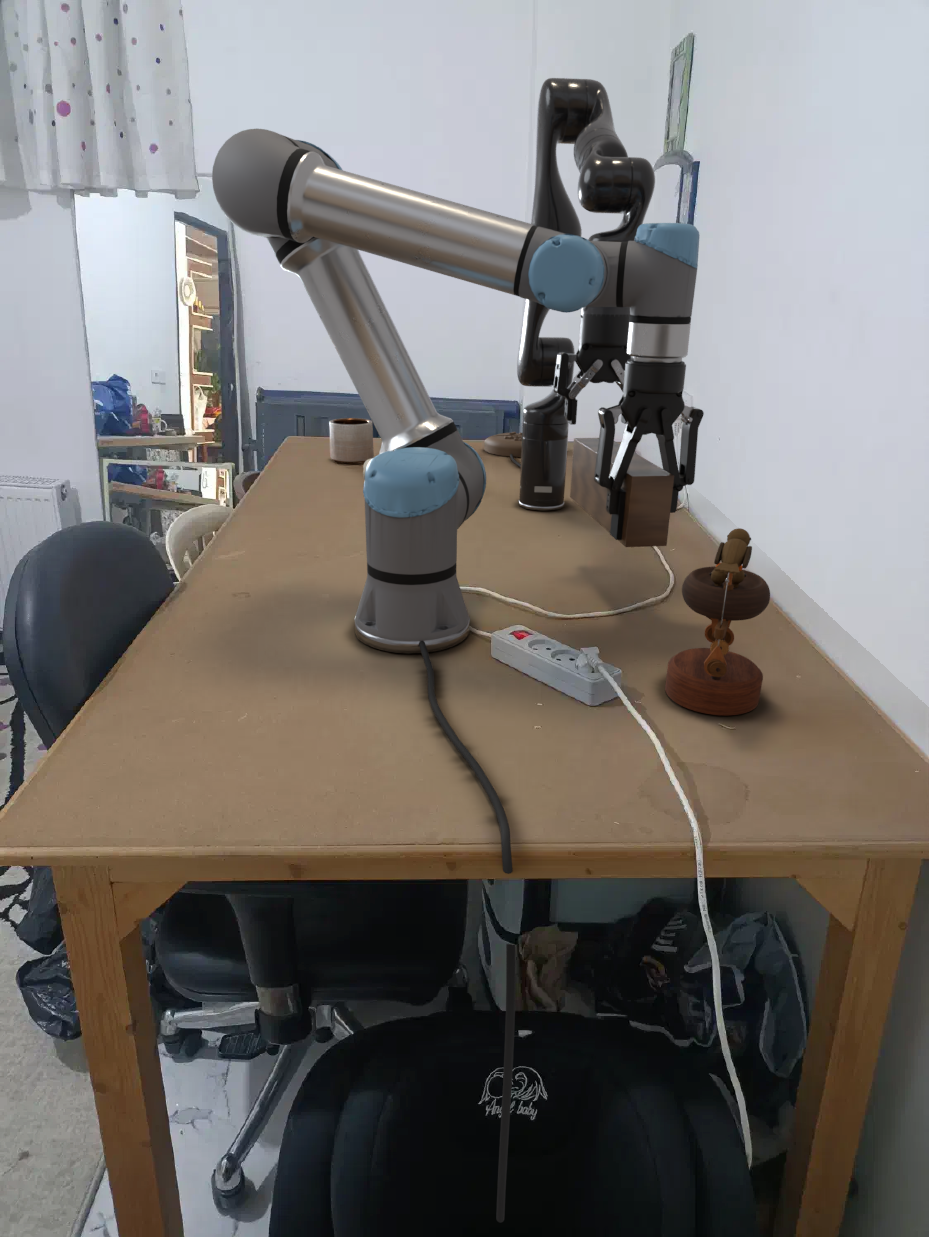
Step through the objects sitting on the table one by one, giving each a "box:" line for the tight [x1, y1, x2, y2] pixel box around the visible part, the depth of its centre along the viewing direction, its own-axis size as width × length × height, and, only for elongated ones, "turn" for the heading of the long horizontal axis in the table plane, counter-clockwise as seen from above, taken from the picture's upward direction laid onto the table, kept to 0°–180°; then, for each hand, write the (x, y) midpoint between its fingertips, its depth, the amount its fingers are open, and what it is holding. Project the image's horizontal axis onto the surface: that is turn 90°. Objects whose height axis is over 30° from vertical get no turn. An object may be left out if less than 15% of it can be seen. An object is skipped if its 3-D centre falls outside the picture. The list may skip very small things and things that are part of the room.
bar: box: [569, 437, 674, 548], centre depth 123 cm, size 27×6×10 cm, turn 9°
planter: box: [328, 417, 375, 464], centre depth 212 cm, size 11×11×10 cm
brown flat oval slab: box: [483, 431, 522, 458], centre depth 222 cm, size 21×28×4 cm
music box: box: [664, 527, 771, 716], centre depth 94 cm, size 15×11×20 cm
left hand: (638, 536), depth 115 cm, fingers closed on bar, 6 cm apart
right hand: (598, 423), depth 130 cm, fingers open, 8 cm apart
